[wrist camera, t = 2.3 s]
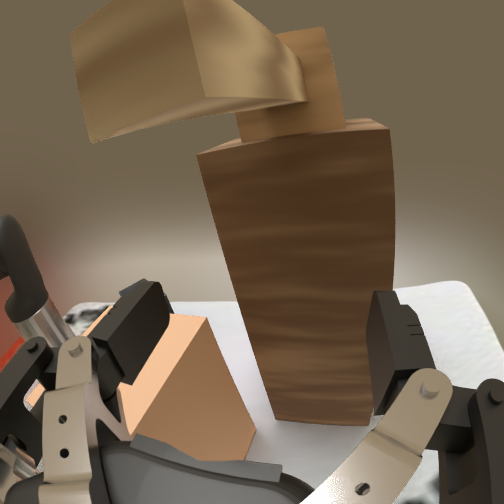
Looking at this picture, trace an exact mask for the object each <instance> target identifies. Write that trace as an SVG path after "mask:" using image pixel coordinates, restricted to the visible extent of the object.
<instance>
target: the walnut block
mask: <svg viewBox="0 0 504 504" xmlns="http://www.w3.org/2000/svg"><path fill="white" fill-rule="evenodd" d="M345 125H346V129H335V130H325V131H316V132H307V133H299V134H292V135H285V136H278V137H272V138H265V139H259V140H254V141H248V142H243V143H242V141H241V138H238V139H235V140H233V141H230V142H227V143H225V144H222V145H219V146H217V147H215V148H212V149H209V150H207V151H205V152H202V153H200V154H197V155H196V156H197V159H198V163H199V167H200V171H201V175H202V178H203V182H204V186H205V189H206V193H207V197H208V201H209V204H210V208H211V211H212V215H213V219H214V222H215V225H216V229H217V233H218V236H219V240H220V243H221V247H222V250H223V254H224V257H225V261H226V264H227V268H228V271H229V274H230V278H231V281H232V284H233V288H234V291H235V294H236V298H237V301H238V304H239V308H240V311H241V314H242V317H243V321H244V324H245V327H246V330H247V333H248V337H249V340H250V343H251V346H252V349H253V352H254V356H255V359H256V362H257V365H258V368H259V371H260V374H261V377H262V380H263V383H264V386H265V389H266V392H267V395H268V398H269V401H270V404H271V407H272V410H273V413H274V416H275V419H277V420H285V421H293V422H303V423H314V424H329V425H356V426H368V425H369V422H370V418H371V414H372V410H373V406H374V405H373V394H372V384H371V374H370V366H369V358H368V351H367V344H366V326H367V321H368V316H369V311H370V306H371V300H372V295H373V292H374V291H392V290H393V276H394V258H395V192H394V191H395V189H394V171H393V159H392V149H391V139H390V130H389V128H386V127H385V126H383V125H381V124H379V123H377V122H375V121H373V120H371V119H369V118H362V119H348V120H345Z"/></svg>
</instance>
